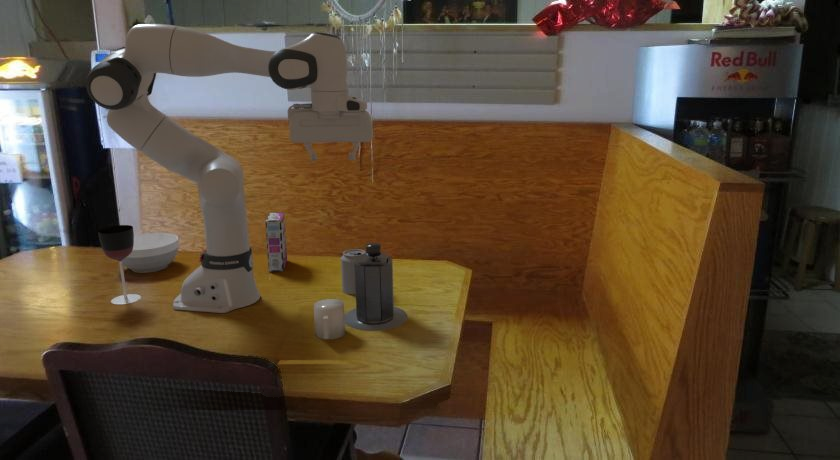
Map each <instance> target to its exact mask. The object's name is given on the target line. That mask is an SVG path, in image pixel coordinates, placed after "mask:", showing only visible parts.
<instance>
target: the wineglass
mask: <svg viewBox="0 0 840 460" xmlns="http://www.w3.org/2000/svg"><path fill="white" fill-rule="evenodd" d="M97 233H98V238H99V242H100V246H101V249H102V252H103V253H104V255H105V256H106V257H107V258H109V259H111V260H116V261H118V265H119V271H120V272H119V273H120V279H121V285H122V291H123V294H122V295H119V296H115V297H114V298H112V299H111V300H110V303H111V304H114V305H127V304H132V303H135V302H138V301H139V300H141V298H142V296H141V295H140V294H135V293H127V292H128V291H127V287H126V280H125V272H124V265H123V264H122V260H123V259H124V258H126V257H127V256H128V255H130V253H131V252H132V250H133V245H134V235H135V234H134V227H133V225H131V224H130V225H129V224H119V225H118V224H117V225H111V226H107V227H103V228H100V229H99V230H98V231H97Z"/></svg>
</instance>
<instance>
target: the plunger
mask: <svg viewBox="0 0 840 460" xmlns="http://www.w3.org/2000/svg"><path fill="white" fill-rule="evenodd" d="M381 247H382V245H381V243H379V242H369V243H366V244H365V252H366V253H365V254H366V255H367V256H370V257H372V259H376V256H380V255H381V254H382V248H381ZM372 266H376V265H372Z"/></svg>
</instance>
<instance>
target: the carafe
mask: <svg viewBox="0 0 840 460" xmlns="http://www.w3.org/2000/svg"><path fill="white" fill-rule="evenodd" d="M393 261H394V260H393V258H392V257H389V253H381V255H380V256H376V259H372V257H370V256H367V255H366V253H365V254H361V257H360V258H357V259H356V261H355V288H356V295H355V308H356V312H357V320H358V321H359V322H361V323H364V324H369V325H379V324H384V323H387V322H390V321H391V320H392V319H393V318H394V307H395V306H394V305H395V303H394V273H393V271H394V270H393V269H394V267H393V266H394V265H393V264H394V263H393ZM372 265H376V266H372Z"/></svg>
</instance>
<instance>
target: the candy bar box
mask: <svg viewBox="0 0 840 460" xmlns="http://www.w3.org/2000/svg"><path fill="white" fill-rule="evenodd" d="M285 214H286V213H285V212H269V214H268V216H267V217H266V219H265V234H266V235H265V236H266V249H267V262H268V263H267V264H268V267H267V268H268V272H270V273H277V272H278V273H281V272H284V271H285V269H286V265H287V262H288V251H287V250H288V248H287V235H286V234H287V233H286V218H285Z"/></svg>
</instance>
